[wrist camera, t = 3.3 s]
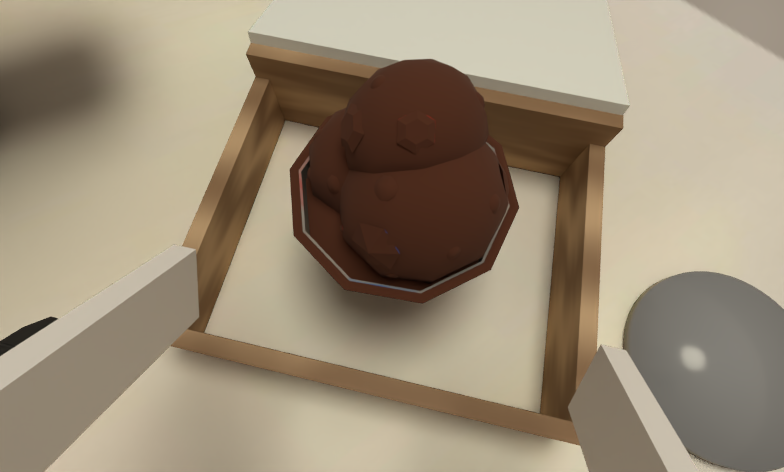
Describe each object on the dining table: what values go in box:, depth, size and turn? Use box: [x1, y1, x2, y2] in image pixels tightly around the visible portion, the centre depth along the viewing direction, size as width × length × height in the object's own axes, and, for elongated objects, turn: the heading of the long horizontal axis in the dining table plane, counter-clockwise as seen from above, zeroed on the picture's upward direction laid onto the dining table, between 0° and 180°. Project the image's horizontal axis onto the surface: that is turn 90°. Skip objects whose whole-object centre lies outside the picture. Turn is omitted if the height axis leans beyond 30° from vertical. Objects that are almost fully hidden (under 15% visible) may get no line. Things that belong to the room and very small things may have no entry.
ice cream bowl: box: [290, 59, 519, 303], centre depth 20 cm, size 11×11×15 cm
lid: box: [248, 0, 630, 115], centre depth 30 cm, size 20×24×7 cm
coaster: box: [623, 272, 784, 472], centre depth 25 cm, size 12×12×1 cm
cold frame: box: [171, 43, 623, 445], centre depth 24 cm, size 19×24×6 cm
